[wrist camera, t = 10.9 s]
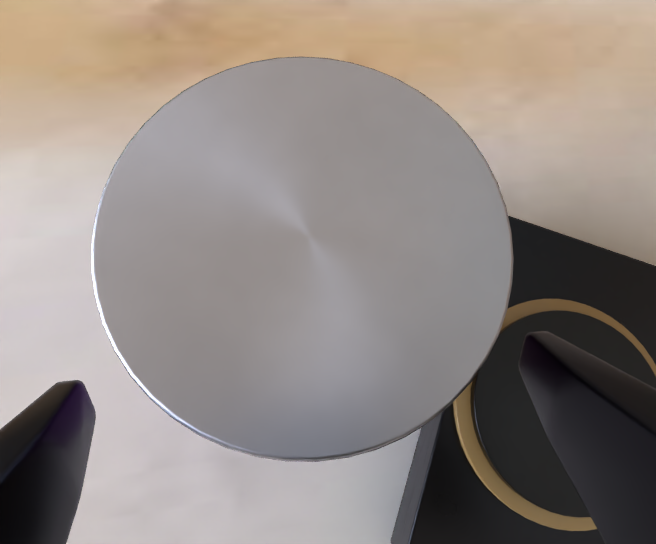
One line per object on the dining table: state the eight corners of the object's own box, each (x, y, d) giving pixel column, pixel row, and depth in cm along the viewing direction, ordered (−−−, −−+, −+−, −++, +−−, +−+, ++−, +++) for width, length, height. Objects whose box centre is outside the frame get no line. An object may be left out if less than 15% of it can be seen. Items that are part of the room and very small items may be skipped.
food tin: (404, 315, 19) (589, 194, 7) (320, 444, 18) (368, 572, 6) (285, 233, 20) (264, -14, 7) (193, 352, 18) (-14, 284, 6)
